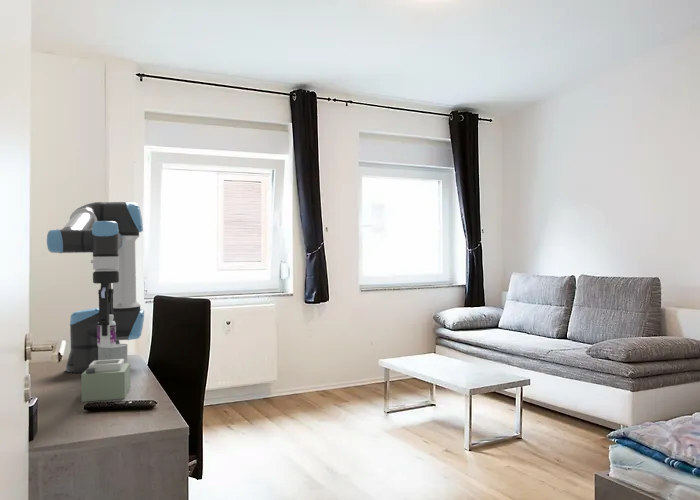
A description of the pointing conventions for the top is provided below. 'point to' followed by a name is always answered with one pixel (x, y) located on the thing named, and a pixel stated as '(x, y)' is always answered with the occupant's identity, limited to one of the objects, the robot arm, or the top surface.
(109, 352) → the speckled grey cylinder
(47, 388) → the top surface
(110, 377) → the green open box
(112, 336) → the pill bottle
